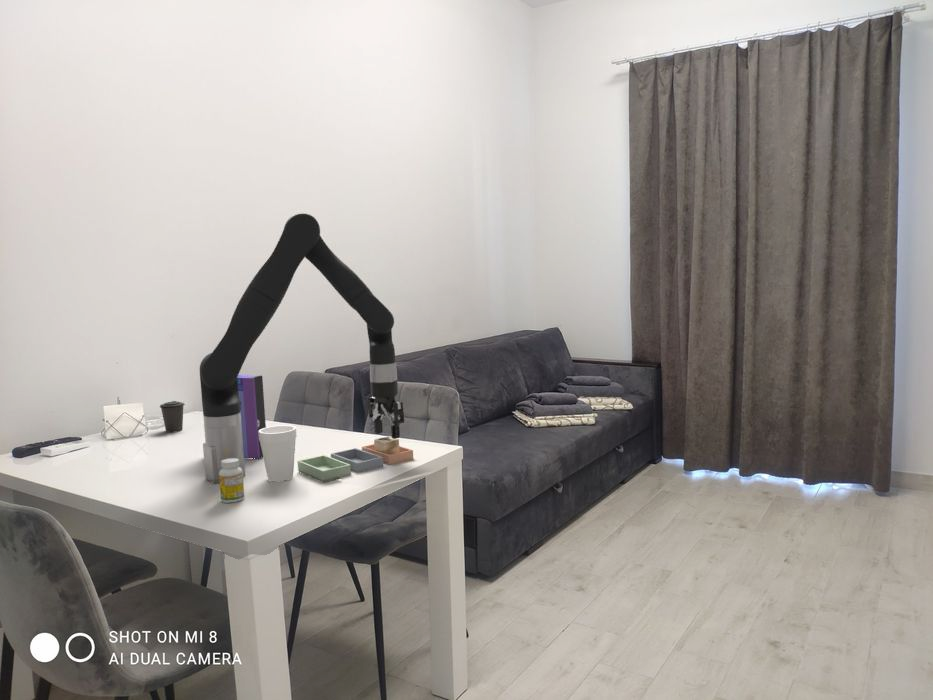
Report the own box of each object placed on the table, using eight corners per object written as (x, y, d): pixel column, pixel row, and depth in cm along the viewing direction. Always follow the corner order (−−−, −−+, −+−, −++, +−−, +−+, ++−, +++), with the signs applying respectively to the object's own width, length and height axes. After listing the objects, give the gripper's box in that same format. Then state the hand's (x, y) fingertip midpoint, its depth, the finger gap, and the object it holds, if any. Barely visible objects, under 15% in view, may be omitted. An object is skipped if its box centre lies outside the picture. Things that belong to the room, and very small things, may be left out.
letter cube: (384, 460, 195) (383, 441, 194) (375, 456, 199) (374, 438, 198) (399, 456, 198) (398, 438, 197) (389, 453, 202) (388, 435, 201)
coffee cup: (182, 426, 251) (180, 399, 250) (189, 430, 244) (187, 402, 243) (158, 430, 246) (156, 402, 244) (165, 434, 239) (163, 405, 238)
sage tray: (323, 482, 178) (323, 471, 177) (298, 471, 188) (297, 460, 188) (351, 475, 183) (350, 464, 183) (324, 465, 194) (324, 455, 193)
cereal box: (207, 456, 208) (201, 376, 205) (217, 452, 212) (211, 374, 209) (258, 459, 203) (252, 377, 200) (267, 455, 207) (262, 374, 204)
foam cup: (296, 471, 189) (293, 423, 188) (301, 480, 181) (298, 430, 179) (260, 476, 186) (256, 427, 184) (263, 485, 177) (259, 435, 176)
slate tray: (357, 474, 184) (357, 463, 184) (331, 464, 195) (330, 453, 195) (383, 468, 189) (382, 457, 189) (356, 458, 200) (355, 448, 200)
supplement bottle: (243, 502, 165) (240, 462, 164) (219, 504, 164) (216, 464, 163) (245, 495, 170) (243, 456, 169) (222, 497, 169) (219, 458, 168)
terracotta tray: (389, 466, 191) (389, 455, 190) (362, 457, 201) (361, 446, 201) (413, 460, 196) (412, 450, 195) (385, 451, 206) (385, 441, 206)
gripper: (358, 378, 199) (362, 434, 201) (386, 383, 188) (390, 442, 190) (380, 374, 204) (384, 429, 206) (409, 379, 193) (412, 437, 195)
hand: (387, 435), depth 198 cm, fingers open, 8 cm apart
